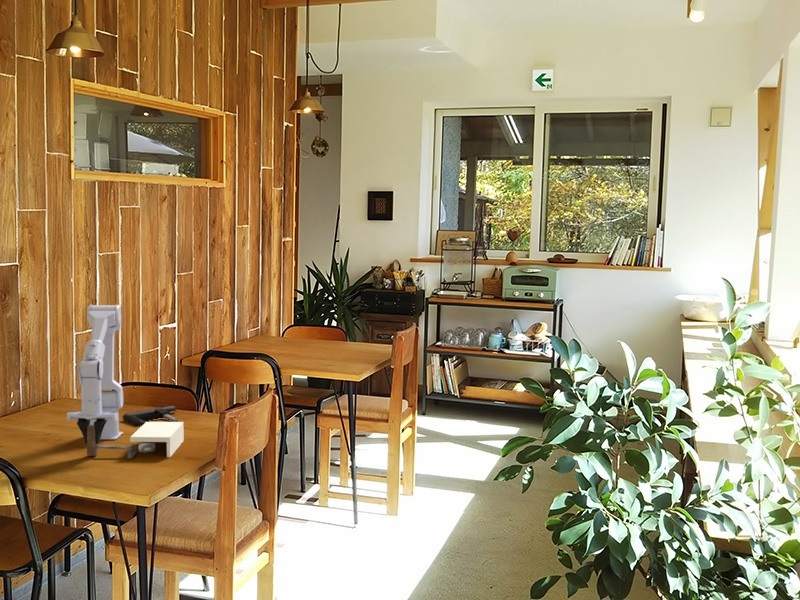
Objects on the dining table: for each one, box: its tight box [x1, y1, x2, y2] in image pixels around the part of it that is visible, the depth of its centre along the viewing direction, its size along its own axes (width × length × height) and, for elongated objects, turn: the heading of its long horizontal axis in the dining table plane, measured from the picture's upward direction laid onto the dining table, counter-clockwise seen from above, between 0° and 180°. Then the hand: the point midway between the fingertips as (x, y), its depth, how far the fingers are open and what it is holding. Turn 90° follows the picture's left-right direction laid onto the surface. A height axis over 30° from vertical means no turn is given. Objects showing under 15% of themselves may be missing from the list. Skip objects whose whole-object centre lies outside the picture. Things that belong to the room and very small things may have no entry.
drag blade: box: [86, 425, 137, 460], centre depth 256 cm, size 14×6×9 cm, turn 91°
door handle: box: [122, 405, 179, 427], centre depth 299 cm, size 3×20×16 cm
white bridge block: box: [129, 421, 185, 458], centre depth 265 cm, size 12×18×6 cm, turn 1°
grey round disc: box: [138, 442, 156, 454], centre depth 263 cm, size 5×5×2 cm
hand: (92, 442), depth 256 cm, fingers closed on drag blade, 2 cm apart
